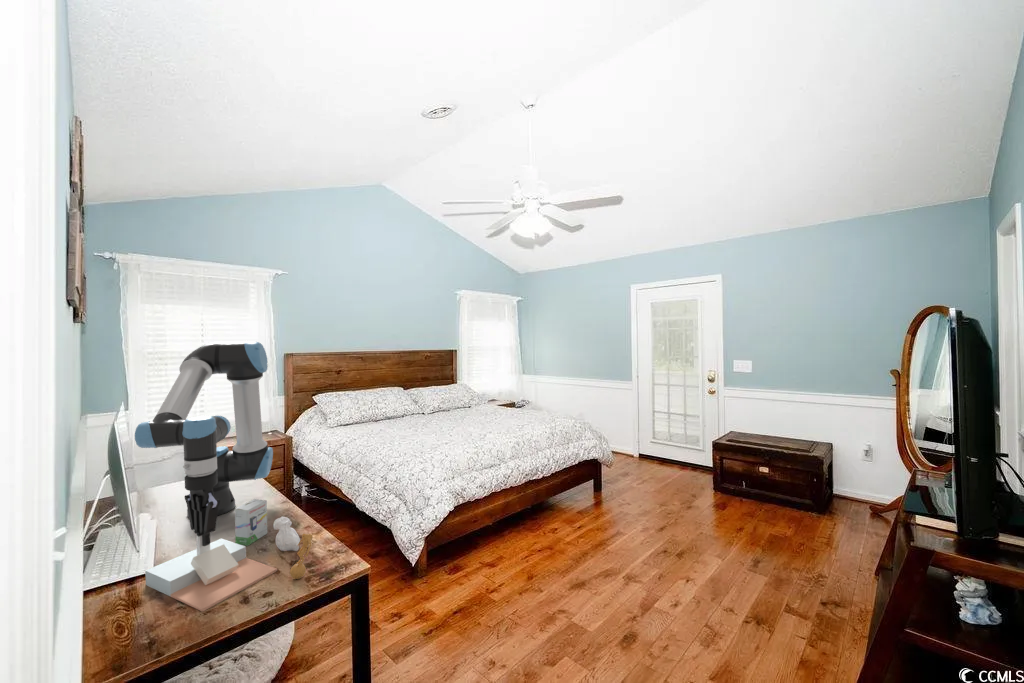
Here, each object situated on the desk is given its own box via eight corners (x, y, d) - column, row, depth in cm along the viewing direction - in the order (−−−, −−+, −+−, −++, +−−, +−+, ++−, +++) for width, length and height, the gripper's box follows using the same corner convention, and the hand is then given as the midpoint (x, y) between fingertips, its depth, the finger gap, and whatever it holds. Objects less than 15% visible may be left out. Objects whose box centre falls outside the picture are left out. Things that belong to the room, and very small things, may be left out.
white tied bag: (282, 547, 144) (258, 527, 139) (302, 528, 148) (278, 507, 143) (291, 563, 135) (265, 541, 130) (312, 541, 138) (287, 520, 134)
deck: (221, 551, 138) (221, 538, 138) (246, 559, 133) (245, 546, 132) (145, 584, 120) (145, 570, 120) (170, 596, 115) (170, 581, 115)
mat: (246, 559, 133) (246, 557, 133) (277, 570, 126) (277, 568, 126) (170, 596, 115) (170, 594, 115) (202, 611, 108) (202, 609, 108)
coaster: (221, 550, 128) (223, 544, 127) (235, 570, 125) (238, 564, 124) (190, 563, 121) (193, 557, 120) (205, 585, 118) (208, 579, 117)
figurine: (286, 574, 125) (285, 532, 124) (308, 566, 128) (307, 526, 128) (294, 587, 118) (293, 543, 118) (317, 579, 122) (316, 536, 122)
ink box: (255, 532, 150) (254, 498, 150) (268, 533, 149) (267, 499, 149) (234, 544, 142) (233, 508, 141) (248, 546, 141) (247, 509, 140)
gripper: (173, 473, 123) (175, 556, 124) (200, 480, 117) (203, 567, 118) (202, 465, 130) (204, 545, 131) (229, 472, 124) (231, 554, 125)
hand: (203, 555), depth 125 cm, fingers closed
